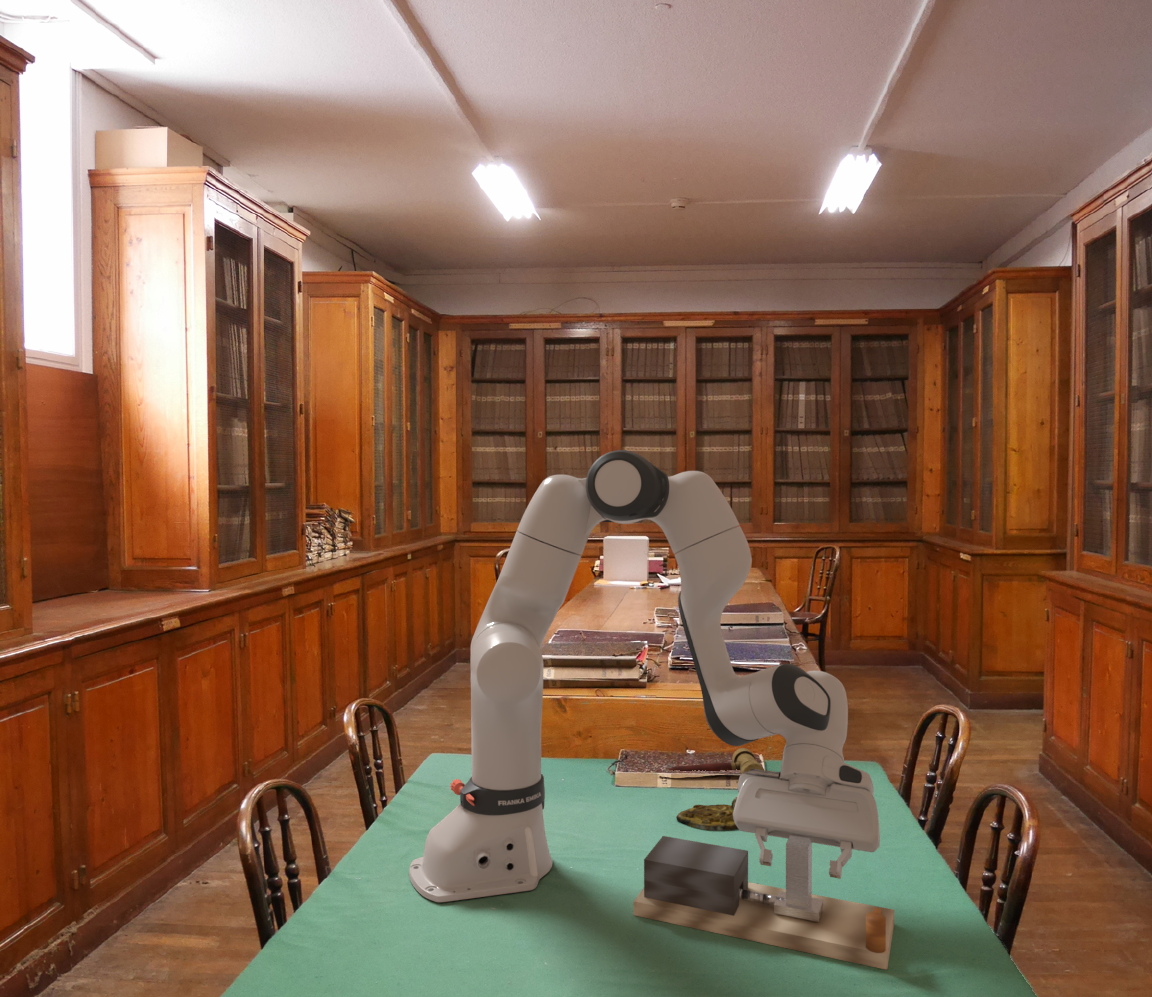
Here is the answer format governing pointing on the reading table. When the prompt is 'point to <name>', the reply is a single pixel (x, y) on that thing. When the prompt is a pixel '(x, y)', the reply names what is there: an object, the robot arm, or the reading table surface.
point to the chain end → (793, 884)
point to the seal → (709, 817)
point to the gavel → (740, 759)
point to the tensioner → (753, 905)
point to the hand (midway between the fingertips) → (799, 870)
